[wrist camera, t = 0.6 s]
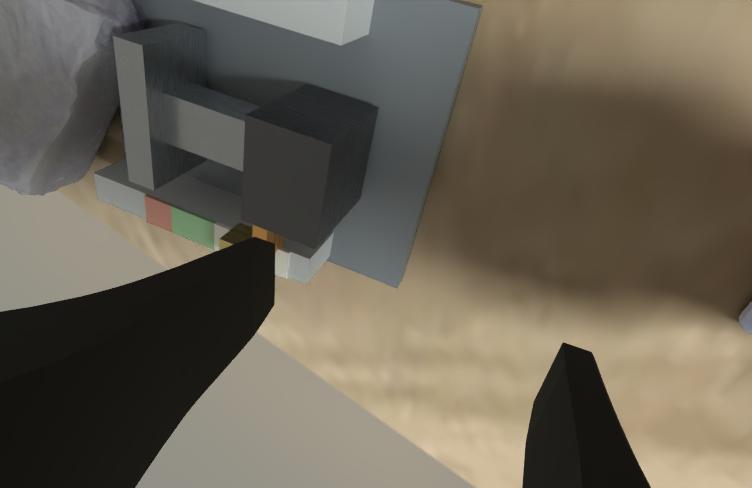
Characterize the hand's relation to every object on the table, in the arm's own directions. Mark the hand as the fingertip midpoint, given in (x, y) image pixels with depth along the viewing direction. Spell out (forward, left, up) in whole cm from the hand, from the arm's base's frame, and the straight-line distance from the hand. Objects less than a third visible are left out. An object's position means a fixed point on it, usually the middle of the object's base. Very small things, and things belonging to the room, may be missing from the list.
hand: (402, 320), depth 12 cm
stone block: (+21, 0, -9) cm, 23 cm away
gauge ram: (+8, +1, -8) cm, 12 cm away
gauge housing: (+9, 0, -9) cm, 13 cm away
